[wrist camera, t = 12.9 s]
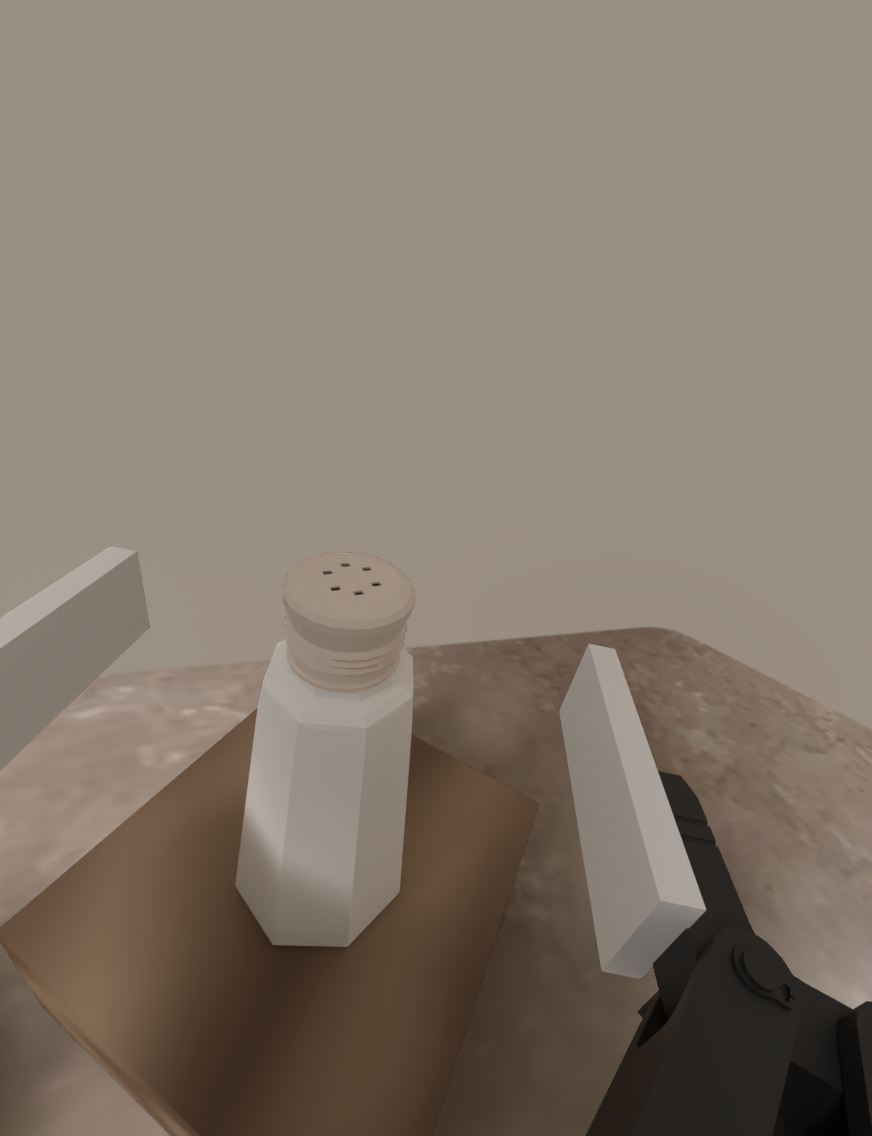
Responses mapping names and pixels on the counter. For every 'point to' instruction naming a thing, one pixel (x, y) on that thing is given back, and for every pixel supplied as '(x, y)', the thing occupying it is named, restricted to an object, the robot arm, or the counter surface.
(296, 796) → the pepper shaker
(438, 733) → the counter surface
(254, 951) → the walnut base
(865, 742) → the counter surface
